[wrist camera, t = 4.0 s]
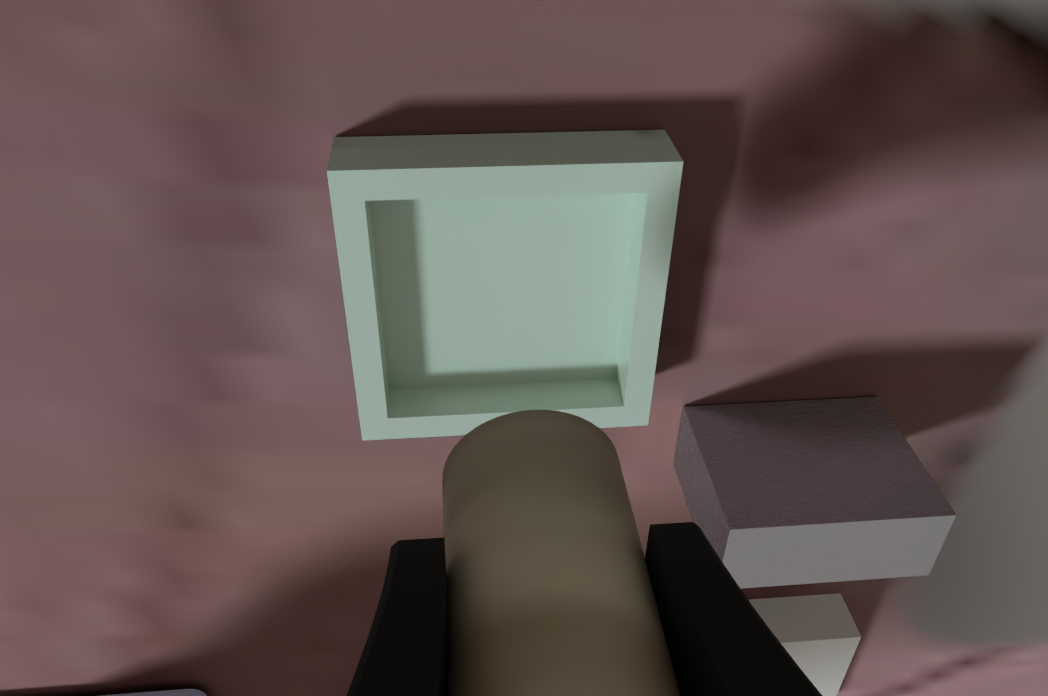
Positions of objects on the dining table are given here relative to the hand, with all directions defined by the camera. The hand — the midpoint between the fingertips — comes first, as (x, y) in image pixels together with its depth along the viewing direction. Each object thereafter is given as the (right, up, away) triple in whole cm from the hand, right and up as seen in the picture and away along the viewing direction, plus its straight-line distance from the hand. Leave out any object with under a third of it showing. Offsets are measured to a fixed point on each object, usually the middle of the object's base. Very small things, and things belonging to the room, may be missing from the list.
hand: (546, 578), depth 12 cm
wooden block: (+6, +1, +10) cm, 12 cm away
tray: (-1, +5, +7) cm, 8 cm away
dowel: (0, +1, +2) cm, 2 cm away
